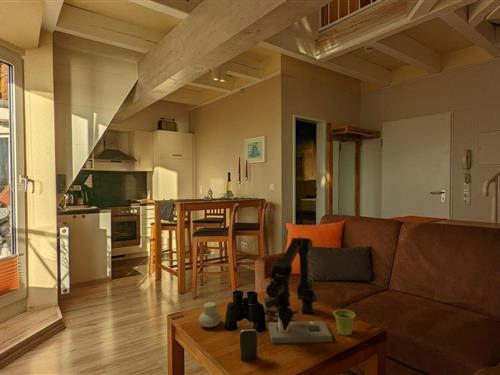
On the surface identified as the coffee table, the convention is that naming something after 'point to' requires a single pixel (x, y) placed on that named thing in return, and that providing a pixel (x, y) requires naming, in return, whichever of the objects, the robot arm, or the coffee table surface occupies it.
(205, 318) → the air freshener
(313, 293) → the robot arm
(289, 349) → the coffee table surface
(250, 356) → the battery charger
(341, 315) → the plant pot
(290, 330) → the panel board
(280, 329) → the plug
